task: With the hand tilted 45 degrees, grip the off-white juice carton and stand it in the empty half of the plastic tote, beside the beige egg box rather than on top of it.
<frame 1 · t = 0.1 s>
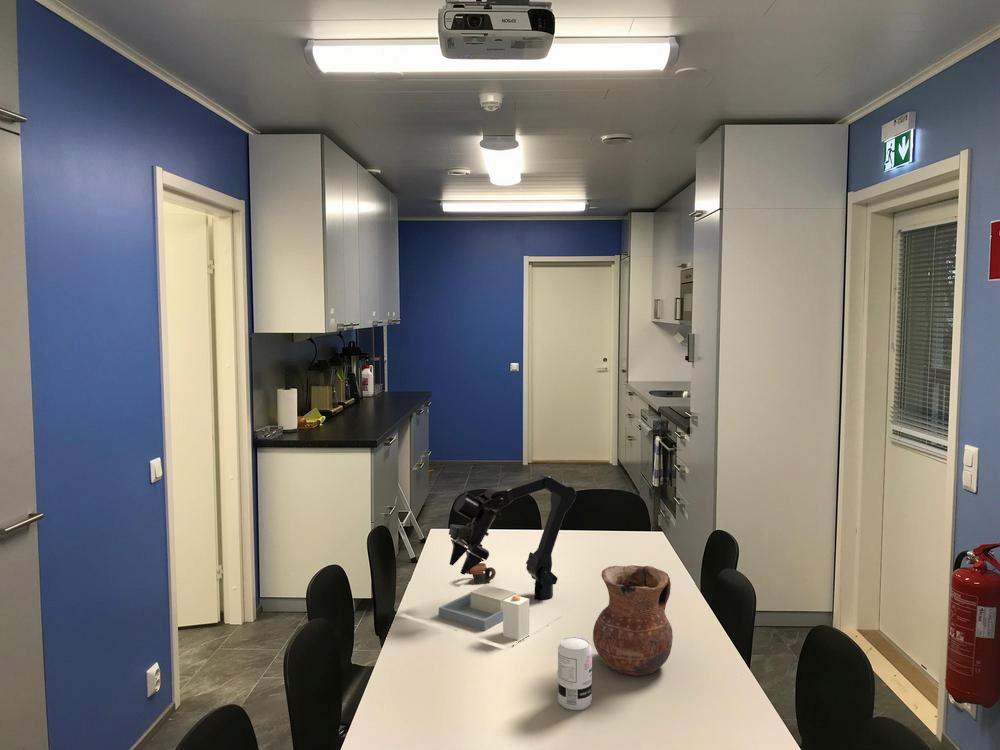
hand: (456, 569, 234), 15 cm above the table, tool tilted 35°, fingers open, 9 cm apart
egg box: (493, 607, 239), point 1 cm above the table, touching tote
jug: (632, 664, 201), on the table
tote: (483, 615, 235), on the table
supplement can: (574, 703, 181), on the table
juice carton: (516, 638, 218), on the table
pottery mug: (479, 583, 264), on the table
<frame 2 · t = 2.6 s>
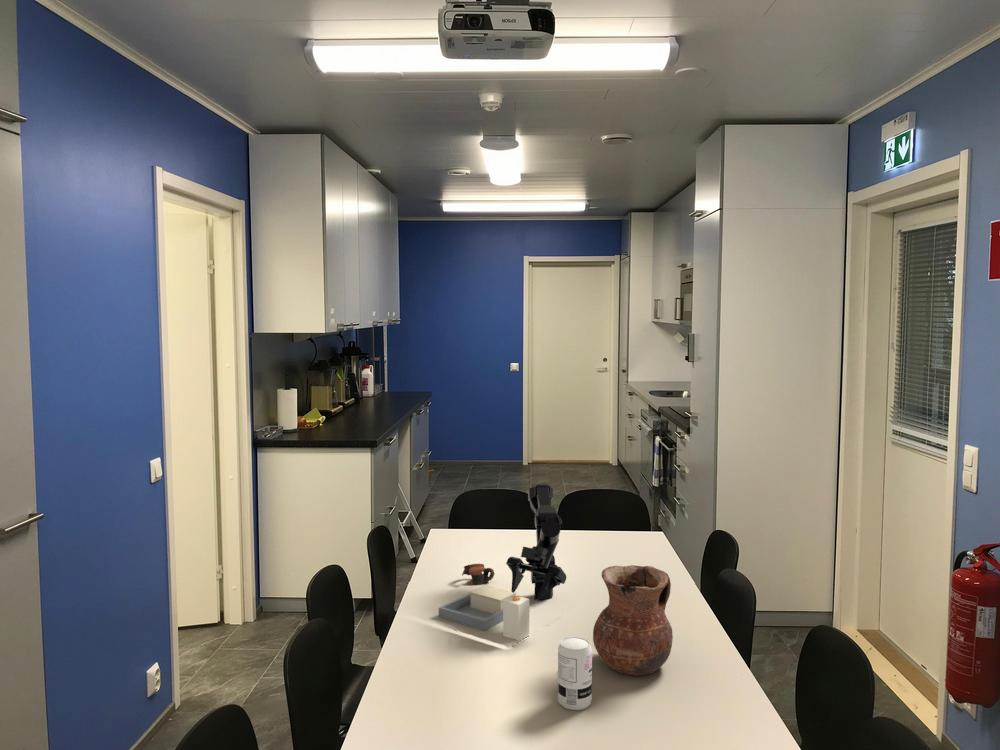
hand: (525, 595, 221), 11 cm above the table, tool tilted 45°, fingers open, 9 cm apart
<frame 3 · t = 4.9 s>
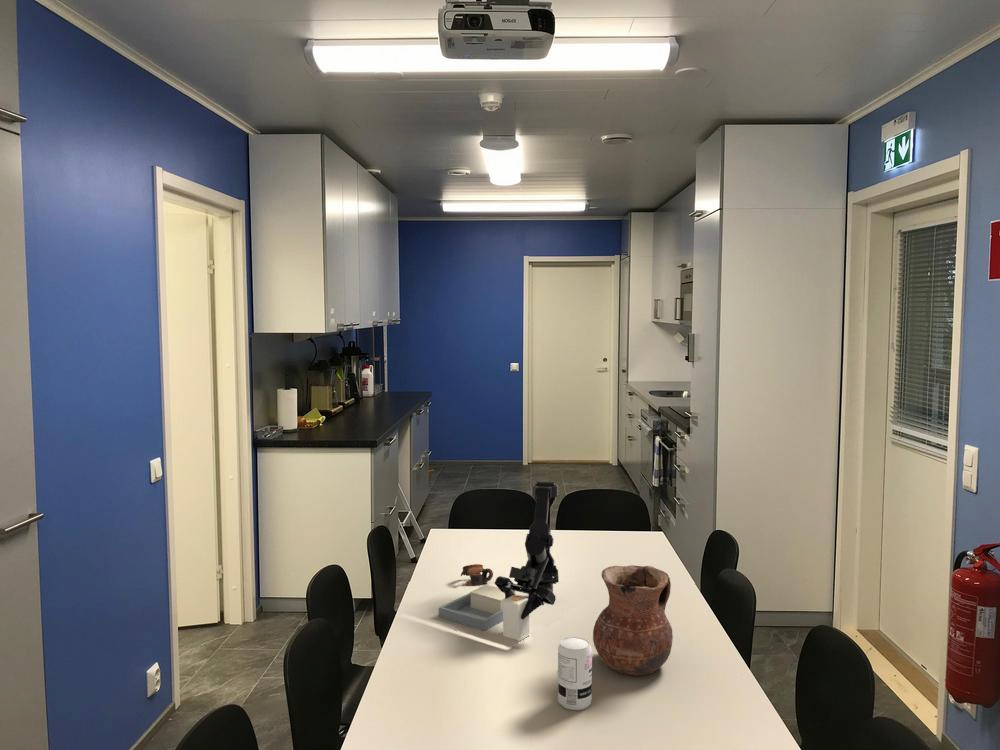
hand: (513, 616, 217), 7 cm above the table, tool tilted 45°, fingers closed on juice carton, 5 cm apart
juice carton: (516, 637, 218), on the table, touching gripper
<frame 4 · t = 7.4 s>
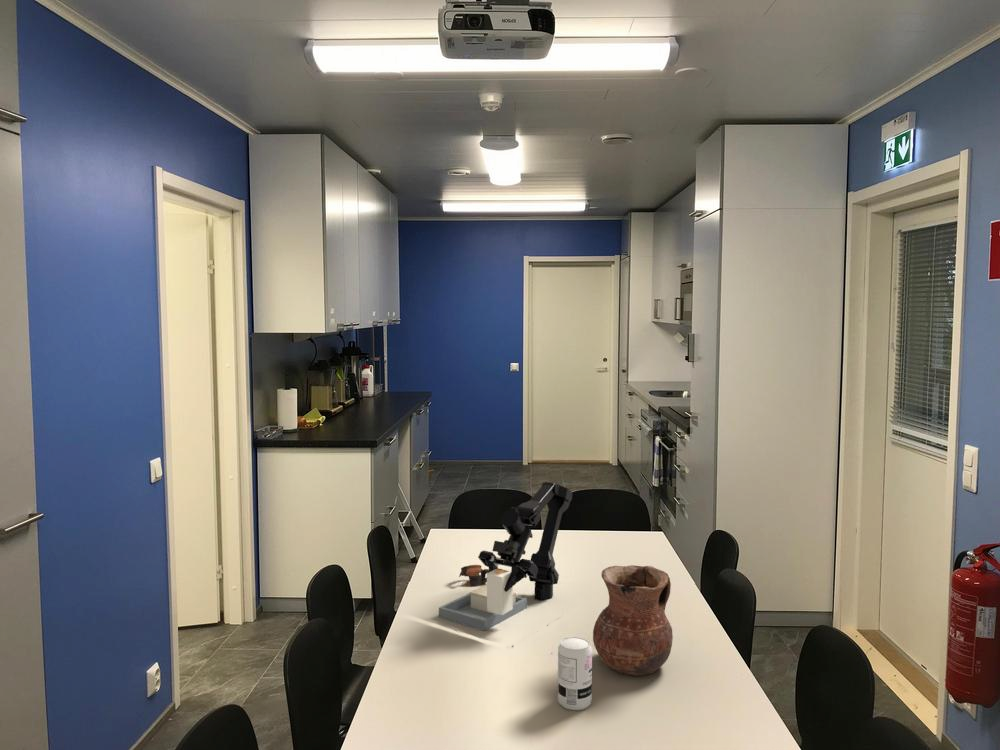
hand: (497, 589, 221), 13 cm above the table, tool tilted 45°, fingers closed on juice carton, 5 cm apart
juice carton: (500, 610, 223), point 6 cm above the table, touching gripper
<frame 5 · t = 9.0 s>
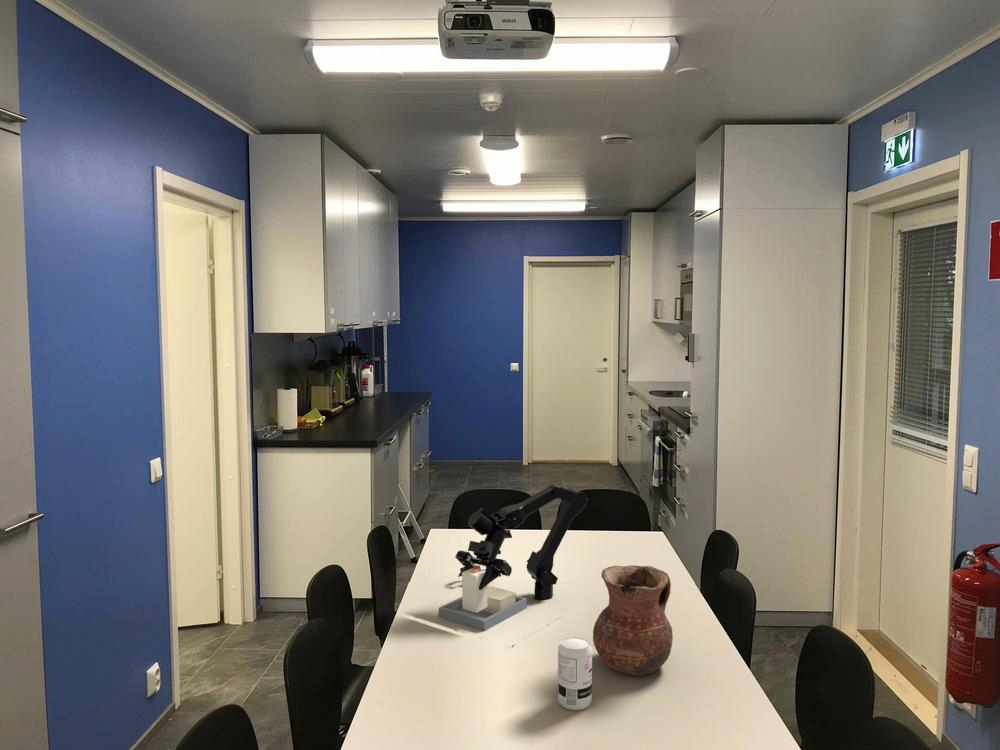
hand: (472, 587, 230), 11 cm above the table, tool tilted 45°, fingers closed on juice carton, 5 cm apart
juice carton: (475, 607, 231), point 4 cm above the table, touching gripper
when the fingers open (9 cm above the table, at t = 10.1 s): juice carton drops 1 cm, resting on tote.
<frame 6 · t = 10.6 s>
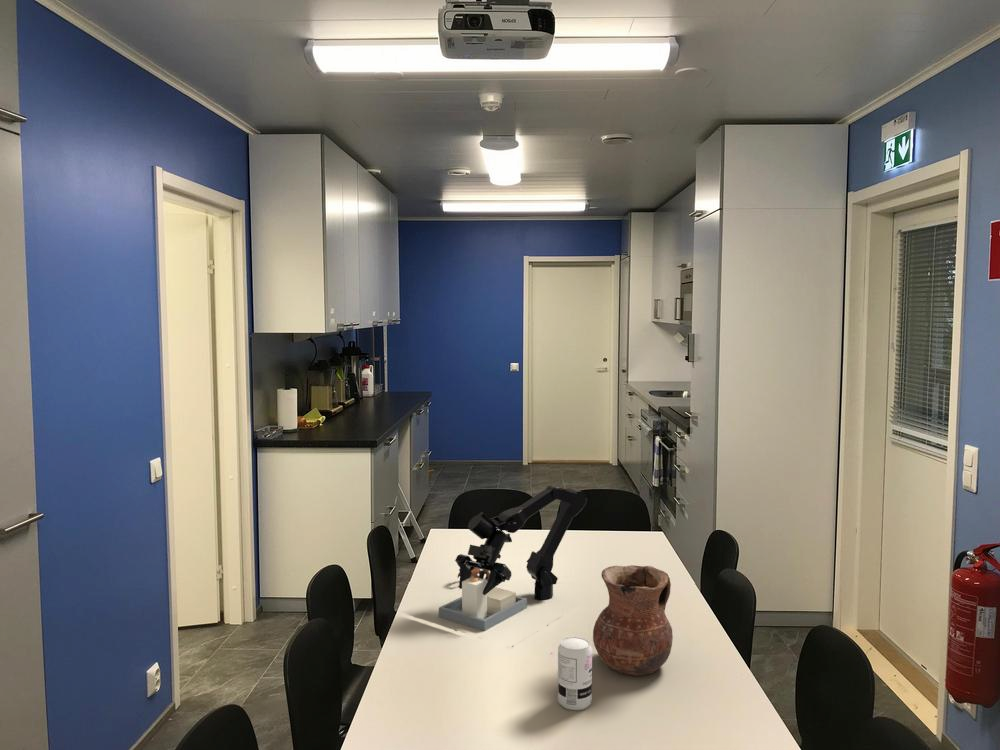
hand: (471, 591, 230), 10 cm above the table, tool tilted 45°, fingers open, 9 cm apart
juice carton: (474, 617, 231), point 1 cm above the table, touching tote
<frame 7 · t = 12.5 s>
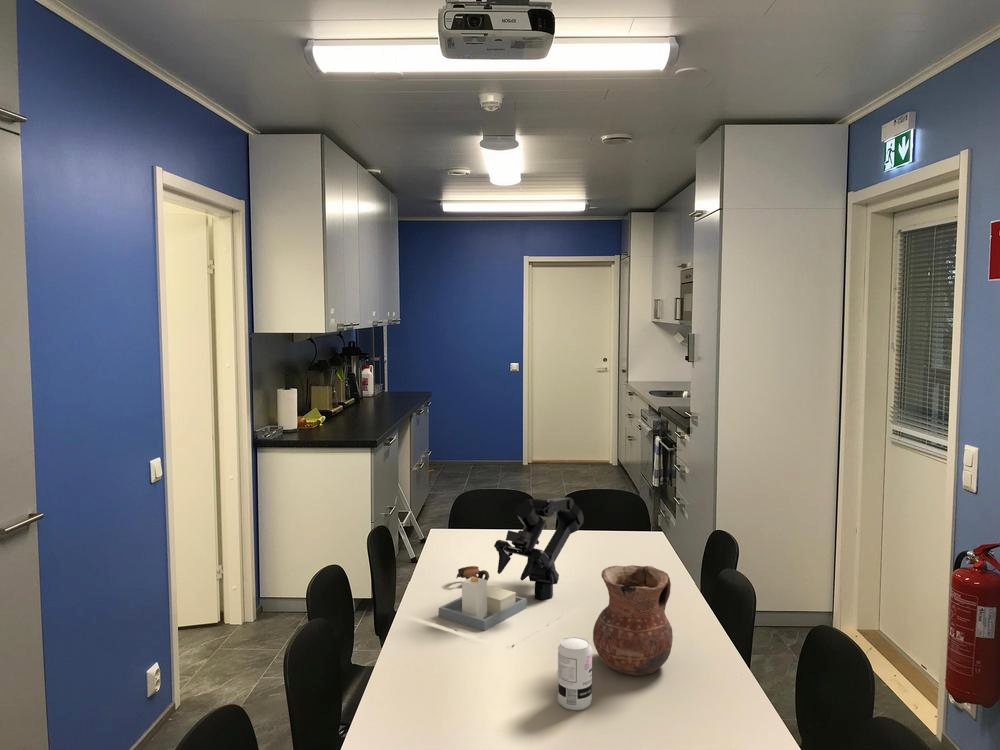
hand: (509, 576, 232), 13 cm above the table, tool tilted 45°, fingers open, 9 cm apart
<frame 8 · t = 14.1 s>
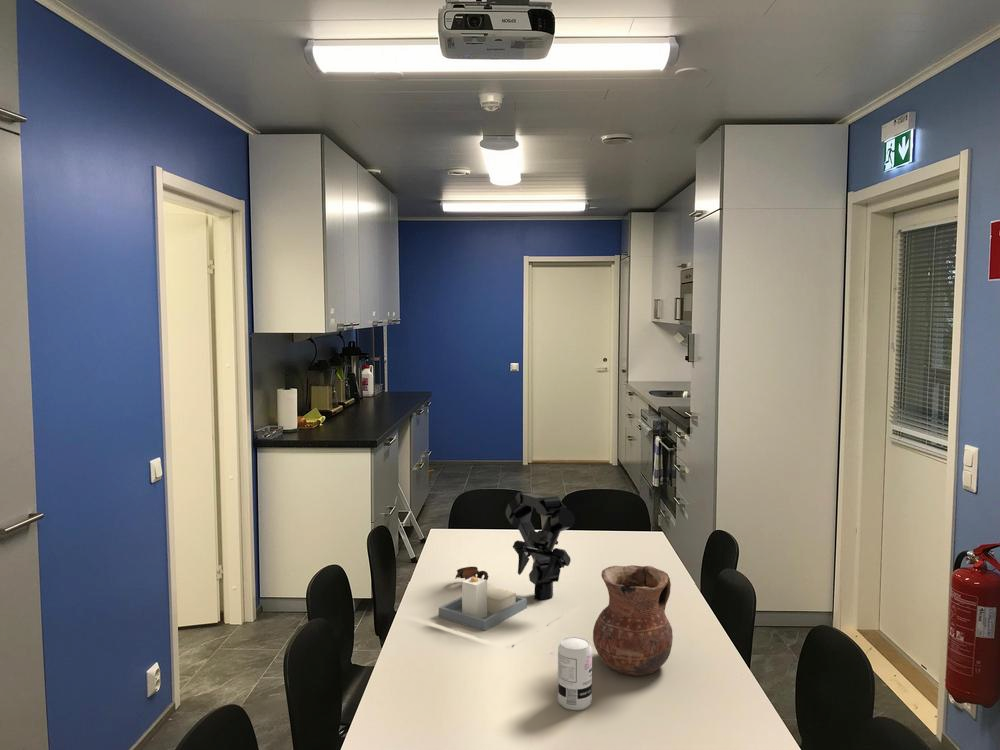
hand: (531, 576, 230), 14 cm above the table, tool tilted 45°, fingers open, 9 cm apart
at the end: juice carton inside the target area on the tote (0.5 cm from its centre), point 1.0 cm above the tote's base; juice carton tilted 0°; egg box moved 0.0 cm from its start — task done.
